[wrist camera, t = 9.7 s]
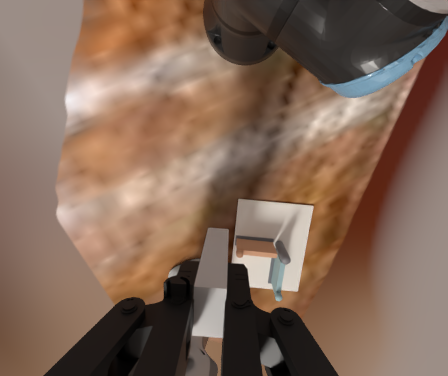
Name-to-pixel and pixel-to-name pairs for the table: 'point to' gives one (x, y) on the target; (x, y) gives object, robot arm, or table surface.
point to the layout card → (273, 238)
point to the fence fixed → (279, 269)
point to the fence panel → (255, 248)
